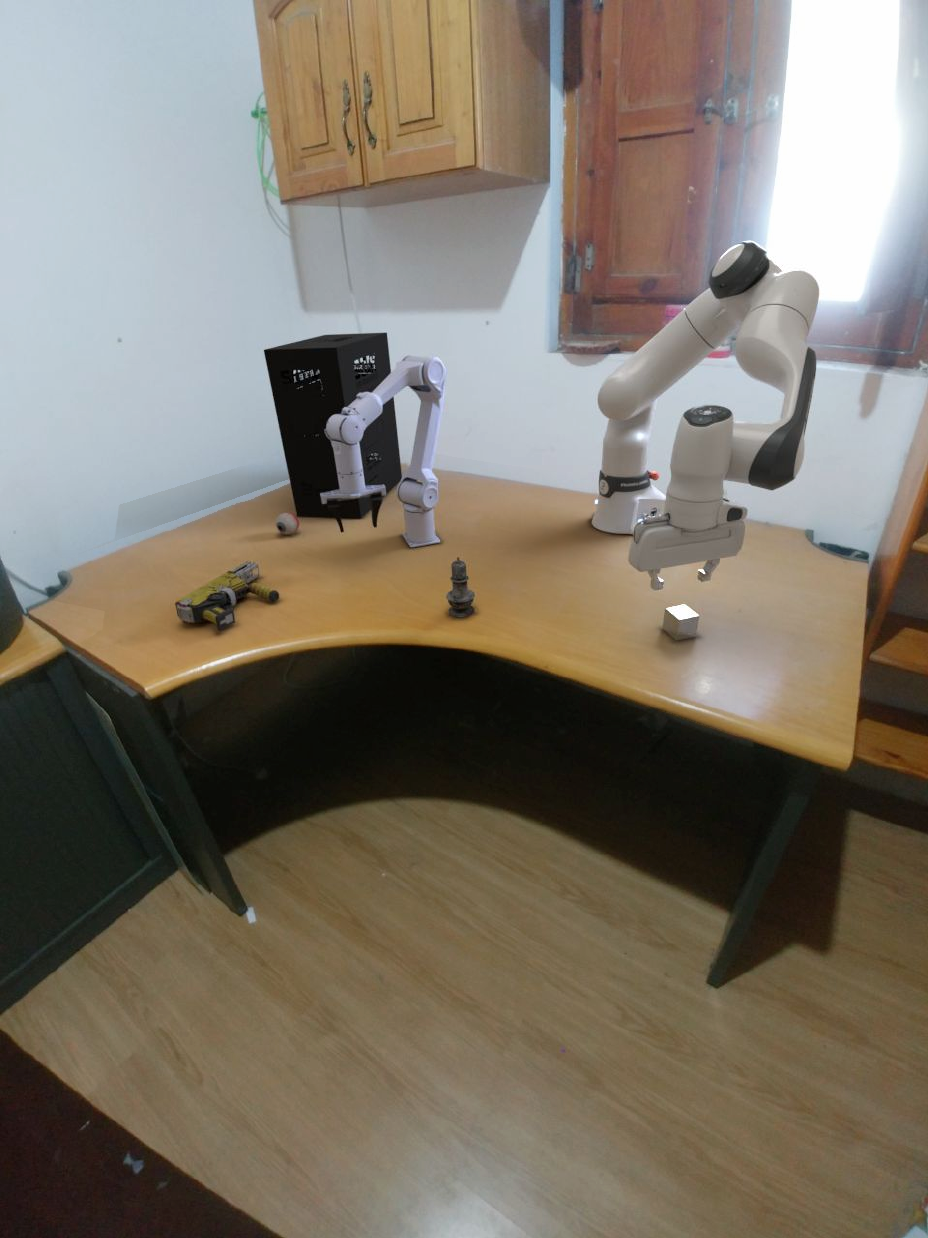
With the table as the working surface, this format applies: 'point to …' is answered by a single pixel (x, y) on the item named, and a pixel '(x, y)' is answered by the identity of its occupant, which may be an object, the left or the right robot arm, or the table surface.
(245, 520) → the table surface
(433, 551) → the table surface
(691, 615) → the block
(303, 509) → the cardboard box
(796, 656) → the table surface
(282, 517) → the eyeball
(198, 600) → the toy gun
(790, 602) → the table surface
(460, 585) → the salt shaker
